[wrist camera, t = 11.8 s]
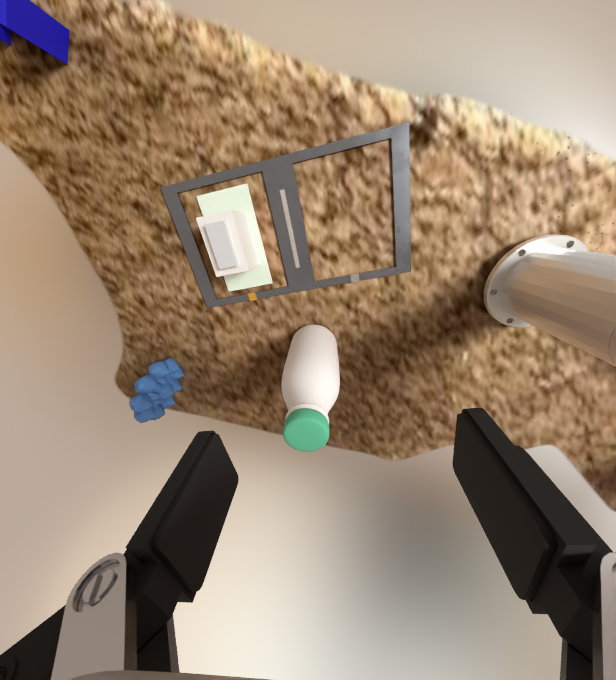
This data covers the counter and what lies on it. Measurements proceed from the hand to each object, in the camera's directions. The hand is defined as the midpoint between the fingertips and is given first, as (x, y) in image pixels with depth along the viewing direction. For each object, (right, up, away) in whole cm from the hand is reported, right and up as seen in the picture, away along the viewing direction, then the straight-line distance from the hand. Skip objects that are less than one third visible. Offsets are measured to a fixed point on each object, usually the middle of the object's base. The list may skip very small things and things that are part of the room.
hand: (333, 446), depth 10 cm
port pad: (-11, +18, +25) cm, 33 cm away
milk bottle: (0, +4, +32) cm, 32 cm away
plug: (-11, +18, +25) cm, 33 cm away
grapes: (-26, -1, +36) cm, 45 cm away
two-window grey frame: (-3, +20, +24) cm, 31 cm away
